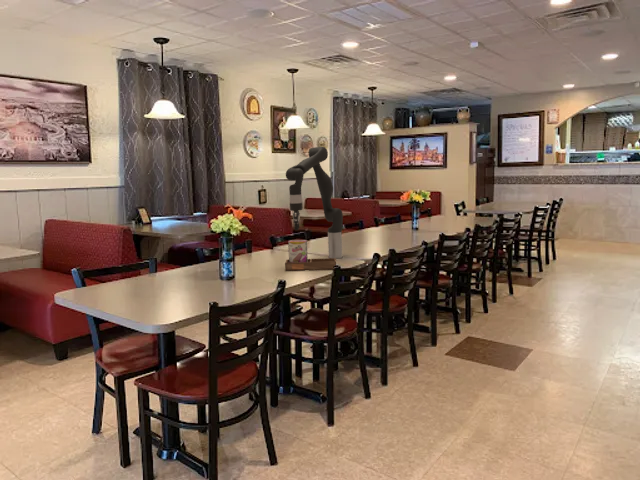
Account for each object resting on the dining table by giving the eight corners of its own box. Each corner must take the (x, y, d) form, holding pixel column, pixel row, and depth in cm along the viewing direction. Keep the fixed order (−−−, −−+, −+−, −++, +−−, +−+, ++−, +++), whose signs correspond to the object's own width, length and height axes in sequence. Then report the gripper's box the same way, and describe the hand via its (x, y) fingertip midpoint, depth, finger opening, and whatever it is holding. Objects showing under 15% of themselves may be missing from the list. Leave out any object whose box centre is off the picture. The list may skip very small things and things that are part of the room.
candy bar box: (288, 268, 302) (287, 241, 300) (290, 266, 307) (288, 240, 305) (307, 268, 301) (306, 241, 299) (308, 266, 306) (307, 239, 304)
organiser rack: (286, 267, 310) (286, 259, 309) (336, 266, 309) (335, 258, 308) (285, 271, 299) (284, 263, 298) (336, 269, 298) (336, 261, 297)
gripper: (301, 203, 291) (302, 230, 293) (302, 201, 305) (303, 227, 308) (288, 203, 291) (289, 231, 294) (290, 201, 305) (291, 228, 308)
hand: (297, 229), depth 301 cm, fingers open, 8 cm apart
